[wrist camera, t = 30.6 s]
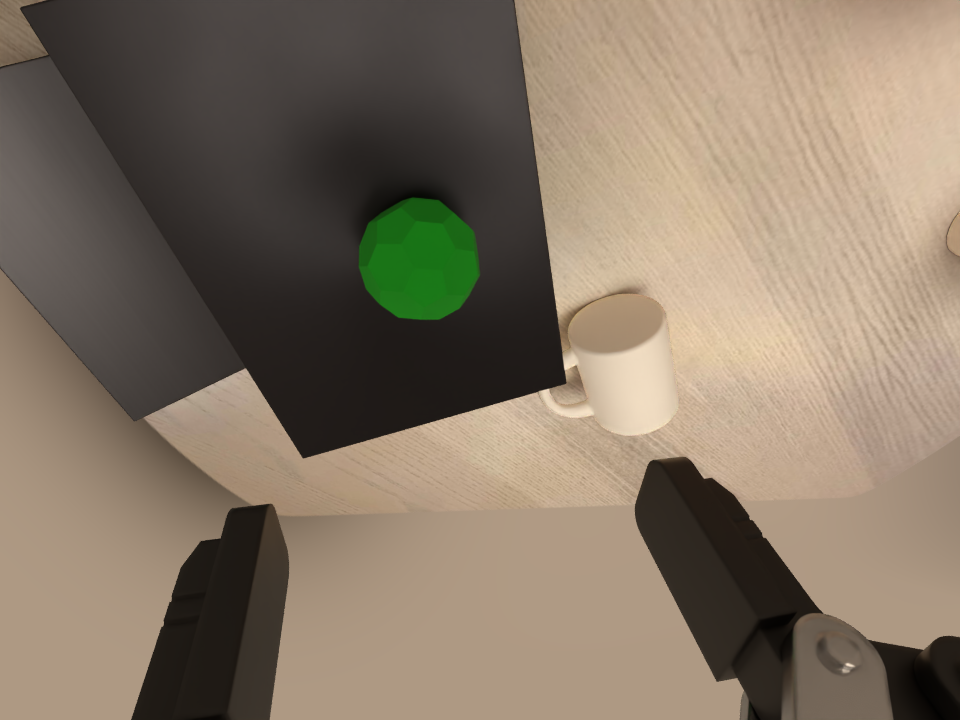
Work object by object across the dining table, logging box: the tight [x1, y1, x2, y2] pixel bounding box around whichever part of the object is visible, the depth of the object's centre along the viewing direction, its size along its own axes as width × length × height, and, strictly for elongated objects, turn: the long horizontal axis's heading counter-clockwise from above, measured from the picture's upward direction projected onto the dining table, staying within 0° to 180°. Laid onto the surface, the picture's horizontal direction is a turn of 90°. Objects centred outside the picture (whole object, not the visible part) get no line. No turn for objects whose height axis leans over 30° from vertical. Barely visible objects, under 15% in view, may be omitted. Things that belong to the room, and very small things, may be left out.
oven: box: [20, 0, 566, 458], centre depth 29 cm, size 22×16×15 cm
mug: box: [538, 294, 679, 436], centre depth 45 cm, size 12×10×8 cm
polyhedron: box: [359, 197, 480, 320], centre depth 21 cm, size 5×5×5 cm
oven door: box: [0, 55, 246, 421], centre depth 33 cm, size 20×7×12 cm
